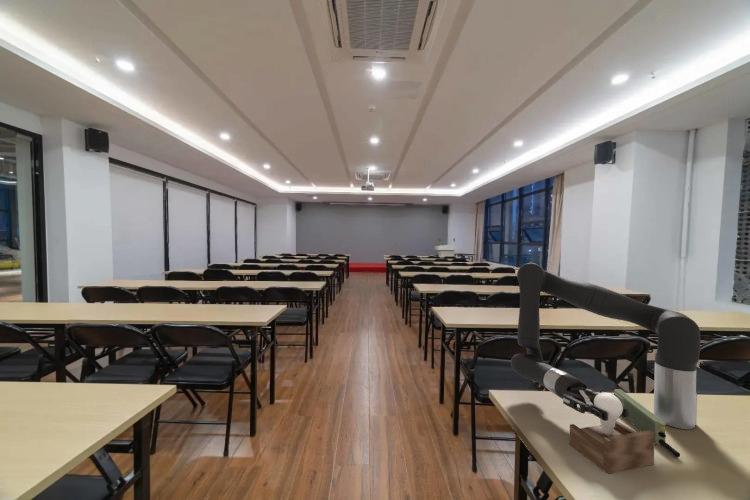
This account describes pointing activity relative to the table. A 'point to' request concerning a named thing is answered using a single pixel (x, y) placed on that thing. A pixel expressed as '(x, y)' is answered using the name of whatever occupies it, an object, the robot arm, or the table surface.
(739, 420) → the table surface
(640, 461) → the stand
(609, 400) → the lightbulb
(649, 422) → the handheld radio
